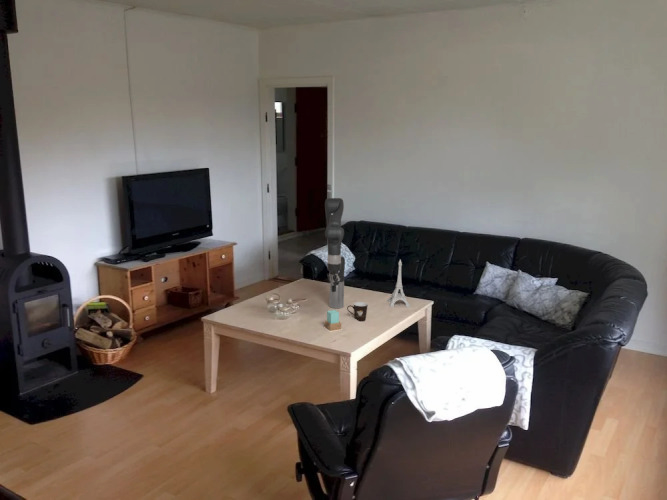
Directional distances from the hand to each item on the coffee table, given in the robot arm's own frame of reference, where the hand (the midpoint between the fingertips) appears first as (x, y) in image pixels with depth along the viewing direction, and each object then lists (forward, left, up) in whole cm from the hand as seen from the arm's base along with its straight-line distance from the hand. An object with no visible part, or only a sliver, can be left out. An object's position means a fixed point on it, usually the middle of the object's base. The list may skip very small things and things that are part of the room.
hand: (333, 291), depth 341 cm
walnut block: (+1, -1, -22) cm, 22 cm away
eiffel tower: (-26, +62, -24) cm, 72 cm away
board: (-2, -1, -23) cm, 23 cm away
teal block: (+1, -1, -18) cm, 18 cm away
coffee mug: (-10, +22, -23) cm, 34 cm away
